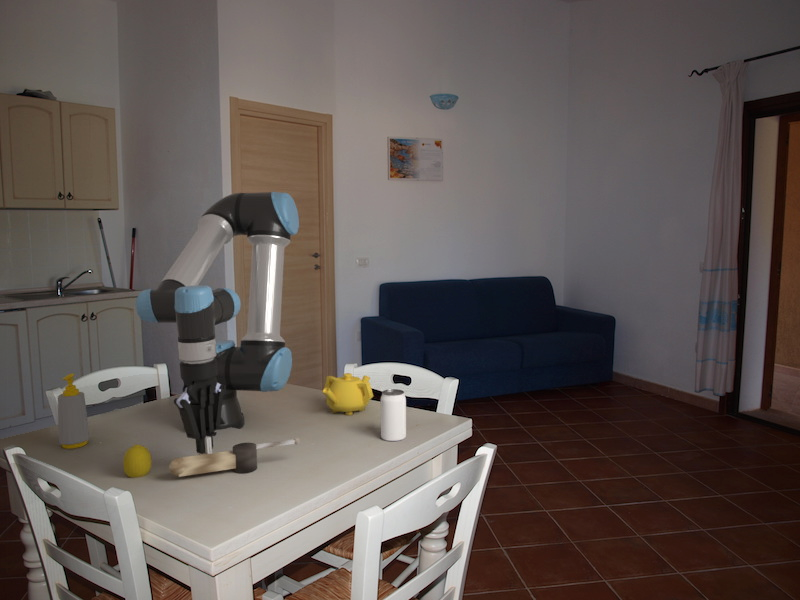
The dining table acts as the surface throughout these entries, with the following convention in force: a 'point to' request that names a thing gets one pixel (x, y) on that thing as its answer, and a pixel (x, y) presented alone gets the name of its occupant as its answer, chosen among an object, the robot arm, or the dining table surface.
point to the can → (393, 415)
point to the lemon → (137, 461)
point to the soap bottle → (72, 417)
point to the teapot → (347, 393)
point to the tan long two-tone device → (224, 459)
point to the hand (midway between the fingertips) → (206, 465)
